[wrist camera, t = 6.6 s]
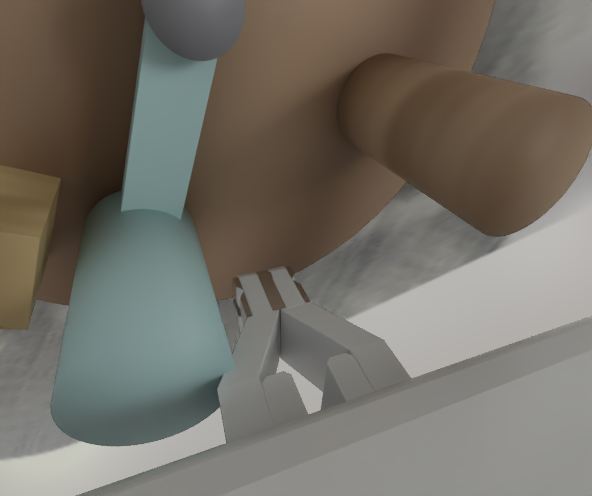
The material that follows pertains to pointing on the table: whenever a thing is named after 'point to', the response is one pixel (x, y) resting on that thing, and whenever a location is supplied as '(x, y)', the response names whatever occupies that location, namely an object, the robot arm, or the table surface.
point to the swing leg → (150, 254)
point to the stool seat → (272, 132)
